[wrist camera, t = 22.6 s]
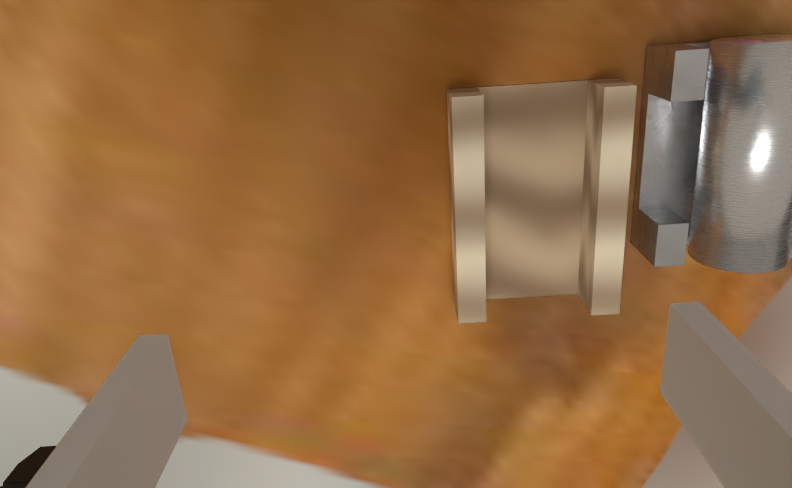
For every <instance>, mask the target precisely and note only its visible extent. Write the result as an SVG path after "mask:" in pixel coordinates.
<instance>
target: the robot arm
mask: <svg viewBox="0 0 792 488" xmlns="http://www.w3.org/2000/svg"><path fill="white" fill-rule="evenodd" d="M660 394H661V395H662V397H663V398H664V400H665V401H666V402H667V404H668V405H669V407H670V408H671V410H672V411H673V413H674V414H675V416H676V417H677V419H678V420H679V422H680V423H681V425H682V426H683V428H684V429H685V430H686V432H687V433H688V435H689V436H690V438H691V439H692V441H693V442H694V444H695V445H696V447H697V448H698V449H699V451H700V453H701V454H702V455H703V457H704V458H705V460H706V461H707V463H708V464H709V466H710V467H711V469H712V470H713V472H714V473H715V475H716V476H717V477H718V479H719V481H720V482H721V483H722V485H723V486H724V488H792V393H791V392H790V391H789V390H788V389H787V388H786V387H785V386H784V385H783V384H782V383H781V382H780V381H779V380H778V379H777V378H776V377H775V376H774V375H773V374H772V373H771V372H770V371H769V370H768V369H767V368H766V367H765V366H764V365H763V364H762V363H761V362H760V361H759V360H758V359H757V358H756V357H755V356H754V355H753V354H752V353H751V352H750V351H749V350H748V349H747V348H746V347H745V346H744V345H743V344H742V343H741V342H740V341H739V340H738V339H737V338H736V337H735V336H734V335H733V334H732V333H731V332H730V331H729V330H728V329H727V328H726V327H724V326H723V325H722V324H721V323H720V322H719V321H718V320H717V319H716V318H715V317H714V316H713V315H712V314H711V313H710V312H709V311H708V310H707V309H706V308H705V307H704V306H703V305H702V304H701V303H700V302H684V303H670V304H669V313H668V322H667V331H666V340H665V349H664V359H663V368H662V377H661V386H660ZM186 422H187V416H186V411H185V407H184V403H183V398H182V394H181V390H180V385H179V381H178V377H177V372H176V368H175V364H174V359H173V355H172V350H171V346H170V342H169V337H168V334H158V335H141V336H138V337H137V339H136V340H135V341H134V343H133V344H132V345H131V347H130V348H129V350H128V351H127V352H126V354H125V355H124V356H123V358H122V359H121V360H120V362H119V363H118V364H117V366H116V367H115V368H114V370H113V371H112V372H111V374H110V375H109V376H108V378H107V379H106V380H105V382H104V383H103V384H102V386H101V387H100V388H99V390H98V391H97V392H96V394H95V395H94V396H93V398H92V399H91V401H90V402H89V403H88V405H87V406H86V407H85V409H84V410H83V411H82V413H81V414H80V415H79V417H78V418H77V419H76V421H75V422H74V423H73V425H72V426H71V427H70V429H69V430H68V431H67V433H66V434H65V435H64V437H63V438H62V440H61V441H60V442H59V443H58V445H57V446H46V447H40V448H38V449H37V450H36V451H35V452H33V453H32V454H31V455H29V456H28V457H27V458H25V459H24V460H23V461H21V462H20V463H19V464H18V465H17V466H16V467H15V468H14V470H13V471H12V472H11V474H10V475H9V476H8V477H7V479H6V480H5V481H4V482H3V486H1V487H0V488H155V487H156V484H157V482H158V480H159V478H160V476H161V474H162V472H163V470H164V468H165V466H166V464H167V462H168V459H169V457H170V455H171V453H172V451H173V449H174V447H175V445H176V443H177V441H178V439H179V437H180V435H181V433H182V430H183V428H184V426H185V424H186Z"/></svg>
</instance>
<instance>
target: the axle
mask: <svg viewBox="0 0 792 488" xmlns="http://www.w3.org/2000/svg"><path fill="white" fill-rule="evenodd" d="M791 241H792V34H773V35H749V36H736V37H726V38H719V39H714V40H711V42H710V51H709V60H708V69H707V78H706V87H705V97H704V106H703V115H702V124H701V133H700V142H699V151H698V161H697V170H696V179H695V188H694V197H693V206H692V216H691V225H690V234H689V243H688V254H689V255H690V257H691V258H693V259H694V260H695V261H697V262H699V263H701V264H703V265H706V266H709V267H712V268H715V269H719V270H724V271H730V272H737V273H766V272H772V271H776V270H779V269H781V268H783V267H785V266H786V265H787V263H788V258H789V252H790V246H791Z"/></svg>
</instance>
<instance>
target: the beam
mask: <svg viewBox="0 0 792 488" xmlns="http://www.w3.org/2000/svg"><path fill="white" fill-rule="evenodd" d="M636 92H637V85H636V84H633V83H630V82H627V81H624V80H622V79H619V78H612V79H596V80H581V81H566V82H551V83H536V84H521V85H506V86H490V87H475V88H460V89H447V110H448V140H449V171H450V201H451V232H452V262H453V293H454V304H455V309H456V314H457V319H458V323H472V322H486V299H503V298H519V297H536V296H552V295H569V294H578V295H579V297H580V298H581V300H582V302H583V303H584V305H585V306H586V308H587V310H588V311H589V313H590V314H591V315H606V314H619V310H620V297H621V284H622V272H623V259H624V246H625V233H626V220H627V207H628V195H629V182H630V169H631V156H632V143H633V130H634V118H635V105H636Z"/></svg>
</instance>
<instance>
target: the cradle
mask: <svg viewBox="0 0 792 488" xmlns="http://www.w3.org/2000/svg"><path fill="white" fill-rule="evenodd" d="M710 42H711V41H704V42H689V43H674V44H659V45H647V46H646V58H645V71H644V83H643V95H642V107H641V120H640V132H639V144H638V156H637V169H636V181H635V193H634V206H633V218H632V230H631V243H632V244H633V245H634V246H635V247H636V248H637V249H638V250H639V252H640V253H641V254H642V255H643V256H644V257H645V258H646V259H647V260H648V261H649V262H650V263H651V264H652V265H653V266H654V267H658V266H675V265H684V262H685V253H686V245H687V244H688V243H689V234H690V225H691V216H692V206H693V197H694V188H695V179H696V170H697V161H698V151H699V142H700V133H701V124H702V115H703V106H704V97H705V87H706V78H707V69H708V60H709V51H710ZM790 258H792V241H791V246H790V252H789V259H790Z"/></svg>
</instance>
